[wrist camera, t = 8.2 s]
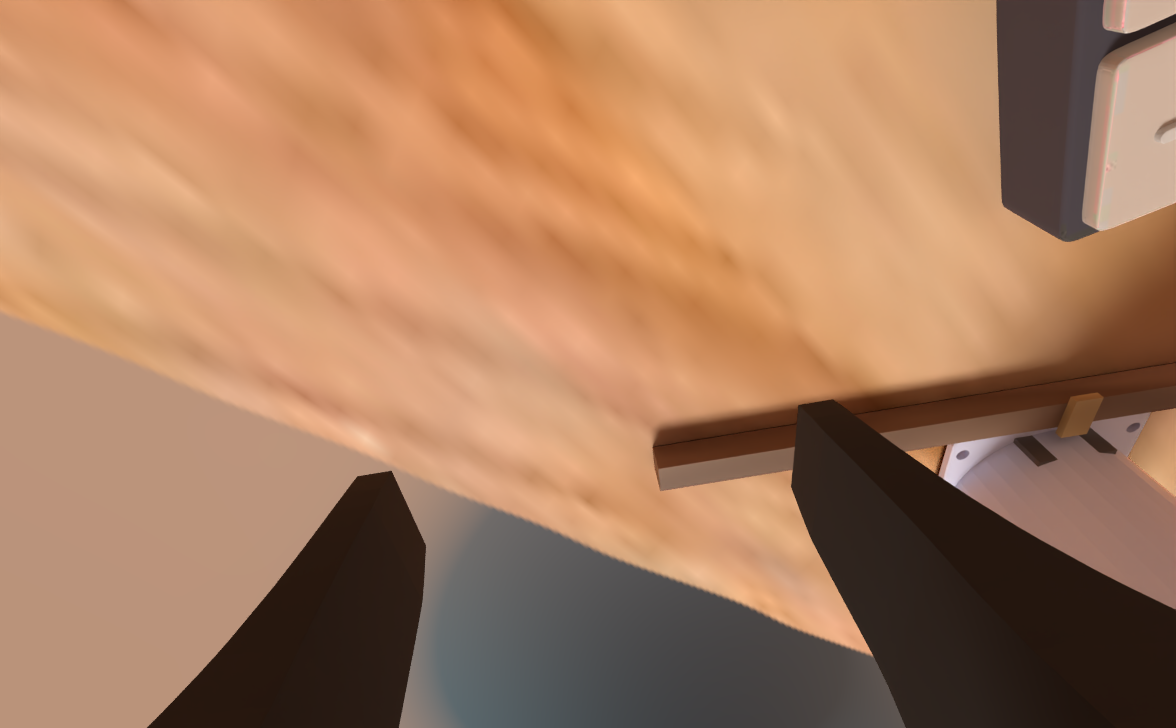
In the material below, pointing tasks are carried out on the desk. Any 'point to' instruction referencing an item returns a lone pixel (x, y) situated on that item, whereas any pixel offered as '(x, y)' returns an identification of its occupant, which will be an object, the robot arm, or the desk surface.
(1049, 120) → the calculator
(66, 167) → the desk surface
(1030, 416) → the track
